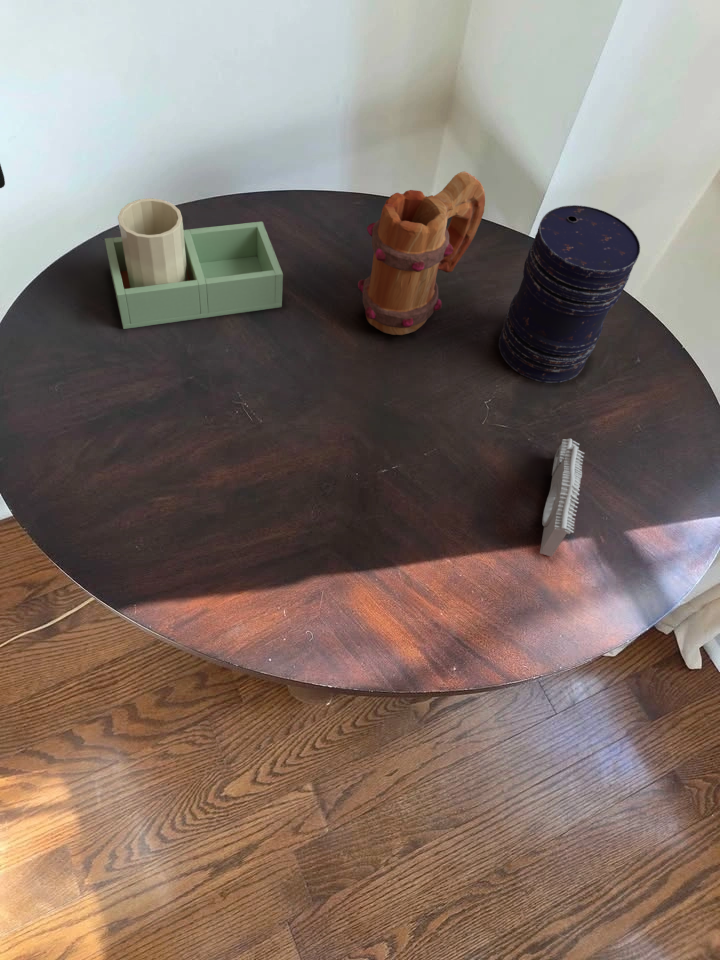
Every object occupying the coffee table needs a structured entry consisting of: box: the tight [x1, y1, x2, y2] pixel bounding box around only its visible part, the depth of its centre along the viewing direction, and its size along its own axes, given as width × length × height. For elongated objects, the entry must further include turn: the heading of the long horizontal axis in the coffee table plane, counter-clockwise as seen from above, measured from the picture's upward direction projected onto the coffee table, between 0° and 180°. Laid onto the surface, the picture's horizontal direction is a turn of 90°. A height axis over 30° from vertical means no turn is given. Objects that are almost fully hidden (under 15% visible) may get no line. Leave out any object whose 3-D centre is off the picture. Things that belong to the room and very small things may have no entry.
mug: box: [357, 171, 486, 336], centre depth 80 cm, size 15×8×15 cm, turn 131°
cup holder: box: [104, 221, 284, 330], centre depth 83 cm, size 17×9×5 cm, turn 108°
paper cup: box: [117, 197, 188, 288], centre depth 79 cm, size 6×6×9 cm
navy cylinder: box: [498, 204, 641, 384], centre depth 79 cm, size 10×10×15 cm
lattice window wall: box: [539, 437, 585, 558], centre depth 71 cm, size 12×2×6 cm, turn 164°
